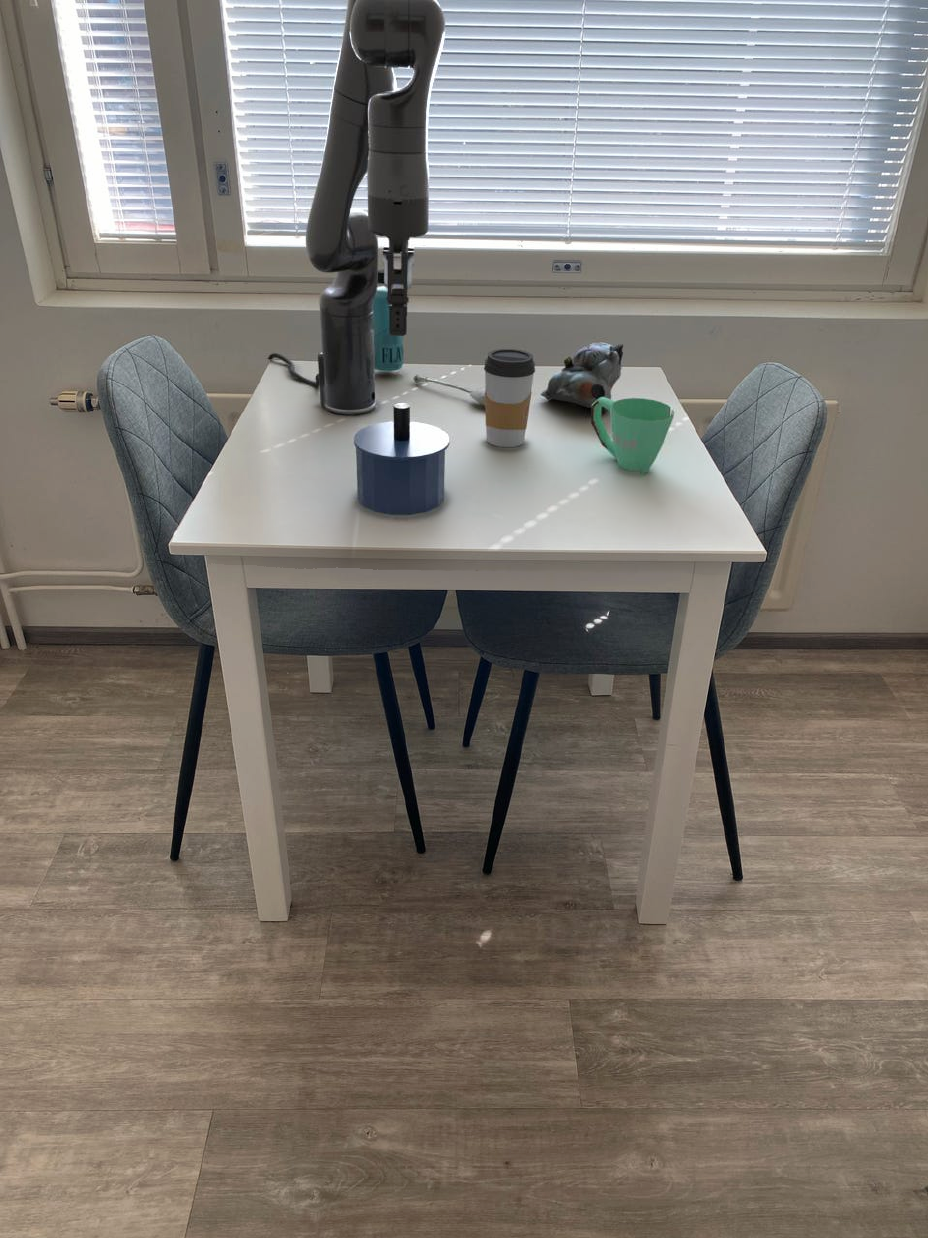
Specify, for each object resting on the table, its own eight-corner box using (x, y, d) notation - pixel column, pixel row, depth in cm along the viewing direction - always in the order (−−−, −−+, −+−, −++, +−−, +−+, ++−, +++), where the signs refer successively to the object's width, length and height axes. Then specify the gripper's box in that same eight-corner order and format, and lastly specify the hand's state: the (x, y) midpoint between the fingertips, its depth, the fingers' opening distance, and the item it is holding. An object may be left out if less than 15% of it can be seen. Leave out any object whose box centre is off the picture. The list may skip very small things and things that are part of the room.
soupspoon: (493, 417, 164) (514, 410, 169) (495, 399, 162) (517, 392, 167) (405, 385, 175) (427, 379, 179) (406, 368, 173) (428, 362, 178)
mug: (676, 470, 145) (687, 410, 139) (638, 486, 139) (647, 424, 134) (607, 443, 154) (614, 386, 148) (568, 457, 148) (574, 398, 143)
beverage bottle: (379, 380, 178) (376, 274, 167) (366, 370, 183) (363, 267, 172) (409, 376, 180) (408, 272, 169) (395, 366, 185) (394, 265, 174)
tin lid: (351, 464, 122) (349, 422, 119) (356, 427, 133) (355, 388, 130) (451, 465, 123) (452, 423, 120) (447, 428, 134) (448, 390, 131)
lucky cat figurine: (533, 394, 173) (562, 324, 170) (587, 418, 176) (616, 350, 174) (555, 397, 159) (587, 322, 156) (613, 424, 162) (645, 350, 160)
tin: (356, 518, 127) (353, 458, 122) (360, 481, 137) (358, 425, 133) (444, 518, 128) (446, 459, 123) (442, 481, 138) (443, 426, 133)
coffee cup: (525, 455, 148) (532, 365, 140) (476, 449, 149) (480, 360, 141) (532, 437, 155) (539, 350, 147) (485, 432, 156) (489, 345, 148)
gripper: (370, 182, 116) (372, 310, 124) (364, 199, 104) (367, 340, 113) (428, 184, 116) (426, 312, 125) (429, 201, 104) (427, 342, 113)
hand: (398, 325), depth 119 cm, fingers open, 8 cm apart
